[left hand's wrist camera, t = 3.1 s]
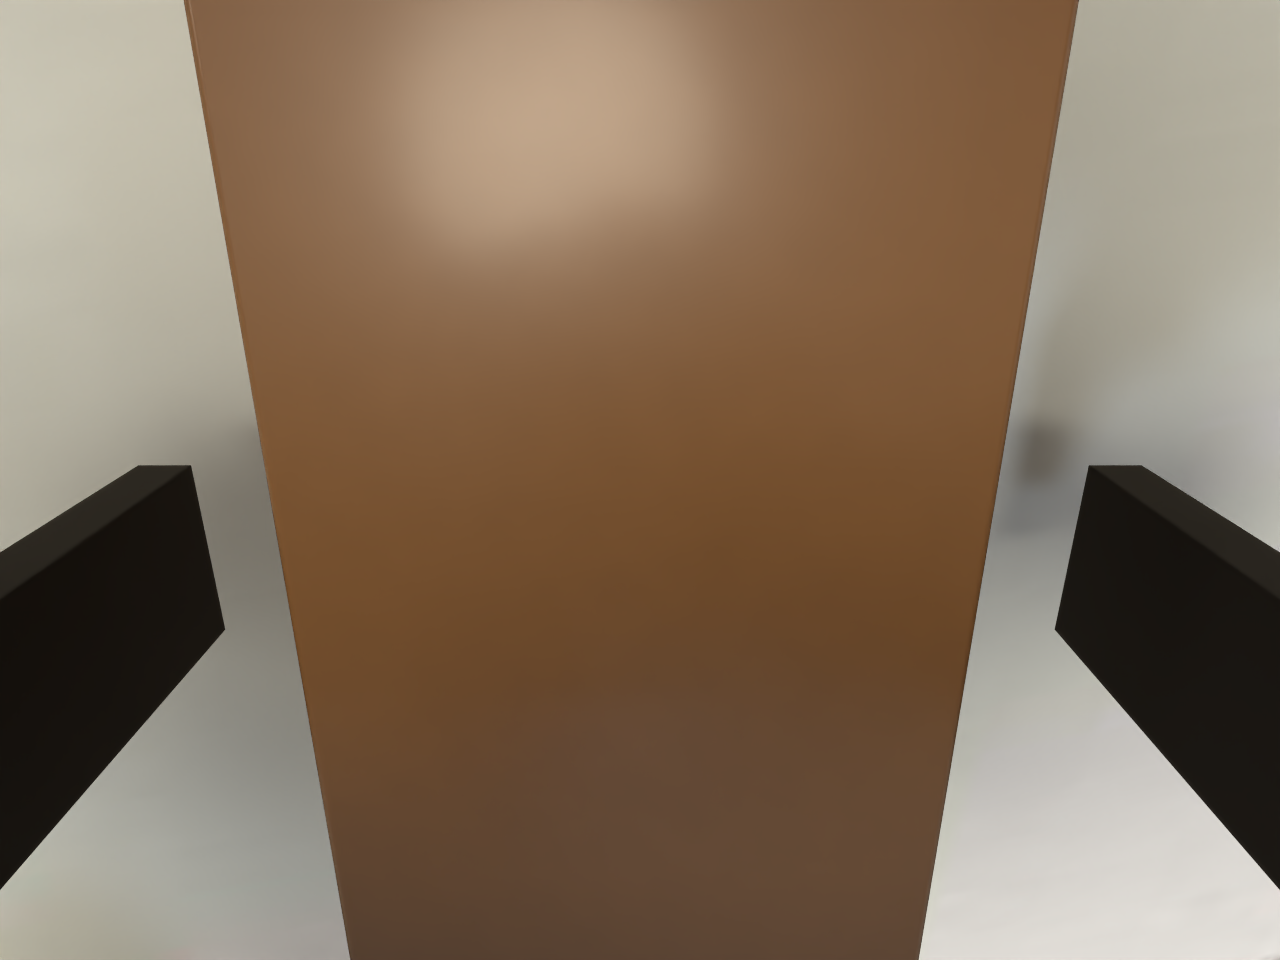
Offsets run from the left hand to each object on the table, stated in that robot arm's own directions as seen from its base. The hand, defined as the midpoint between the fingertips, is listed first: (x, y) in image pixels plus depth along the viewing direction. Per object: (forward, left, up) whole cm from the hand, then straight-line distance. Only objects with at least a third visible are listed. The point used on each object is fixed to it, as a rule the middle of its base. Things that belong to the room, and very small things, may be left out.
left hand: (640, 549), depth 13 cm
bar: (+6, +6, -3) cm, 9 cm away
